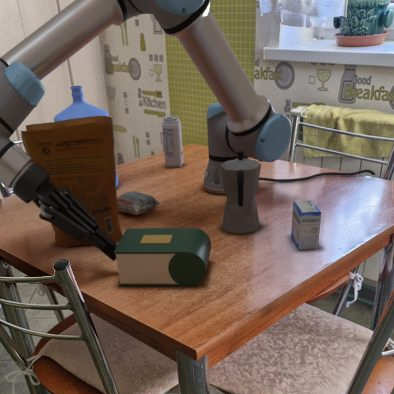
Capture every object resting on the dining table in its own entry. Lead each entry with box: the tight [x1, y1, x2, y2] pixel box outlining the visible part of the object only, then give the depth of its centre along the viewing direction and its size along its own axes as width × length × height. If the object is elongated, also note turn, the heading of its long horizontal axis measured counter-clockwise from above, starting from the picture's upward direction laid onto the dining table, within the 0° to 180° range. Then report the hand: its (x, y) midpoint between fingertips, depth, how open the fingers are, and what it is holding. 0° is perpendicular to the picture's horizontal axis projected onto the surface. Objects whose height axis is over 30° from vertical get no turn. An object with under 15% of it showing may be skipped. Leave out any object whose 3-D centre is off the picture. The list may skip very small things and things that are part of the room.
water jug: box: [53, 85, 119, 188], centre depth 150 cm, size 16×16×28 cm
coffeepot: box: [220, 151, 262, 235], centre depth 121 cm, size 15×9×18 cm, turn 176°
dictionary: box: [114, 227, 212, 287], centre depth 107 cm, size 18×12×8 cm, turn 84°
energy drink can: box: [161, 115, 184, 169], centre depth 169 cm, size 6×6×15 cm
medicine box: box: [290, 199, 322, 251], centre depth 115 cm, size 8×4×9 cm, turn 5°
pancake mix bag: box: [20, 115, 124, 248], centre depth 116 cm, size 7×19×28 cm, turn 96°
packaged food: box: [117, 190, 161, 216], centre depth 138 cm, size 9×12×5 cm
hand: (118, 255), depth 108 cm, fingers closed
